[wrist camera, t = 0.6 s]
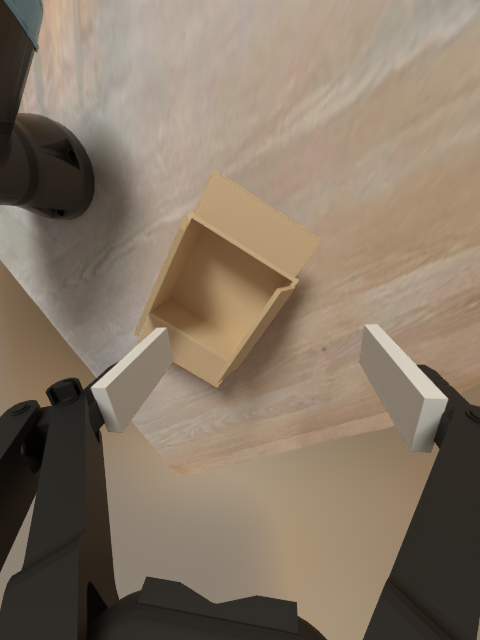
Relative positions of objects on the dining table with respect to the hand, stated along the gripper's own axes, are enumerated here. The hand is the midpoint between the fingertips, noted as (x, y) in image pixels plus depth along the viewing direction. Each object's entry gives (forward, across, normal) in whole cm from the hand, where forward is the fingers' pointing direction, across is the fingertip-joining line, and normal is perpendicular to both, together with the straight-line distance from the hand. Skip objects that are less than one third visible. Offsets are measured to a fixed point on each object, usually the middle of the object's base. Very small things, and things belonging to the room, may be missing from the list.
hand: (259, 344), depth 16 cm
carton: (+28, -8, -3) cm, 29 cm away
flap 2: (+20, -1, -8) cm, 21 cm away
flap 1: (+20, -16, +2) cm, 26 cm away
